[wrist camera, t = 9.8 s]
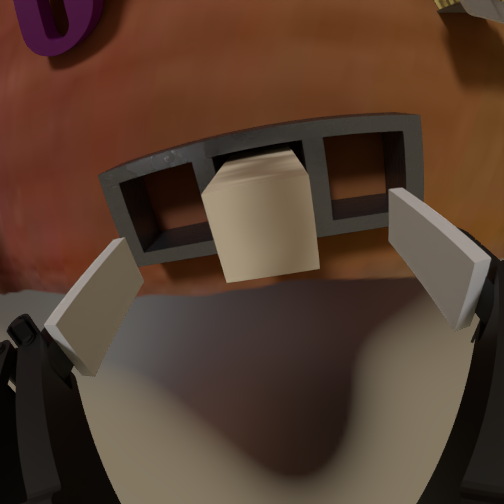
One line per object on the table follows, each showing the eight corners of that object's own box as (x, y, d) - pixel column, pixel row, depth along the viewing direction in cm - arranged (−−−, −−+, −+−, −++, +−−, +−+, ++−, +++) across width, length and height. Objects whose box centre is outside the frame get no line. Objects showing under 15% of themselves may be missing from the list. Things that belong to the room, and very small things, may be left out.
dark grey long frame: (149, 245, 28) (133, 267, 24) (121, 163, 24) (97, 175, 20) (401, 203, 24) (422, 221, 20) (395, 112, 20) (420, 115, 16)
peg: (242, 207, 25) (226, 282, 15) (230, 154, 23) (201, 194, 13) (296, 197, 25) (319, 268, 14) (287, 144, 22) (308, 174, 12)
